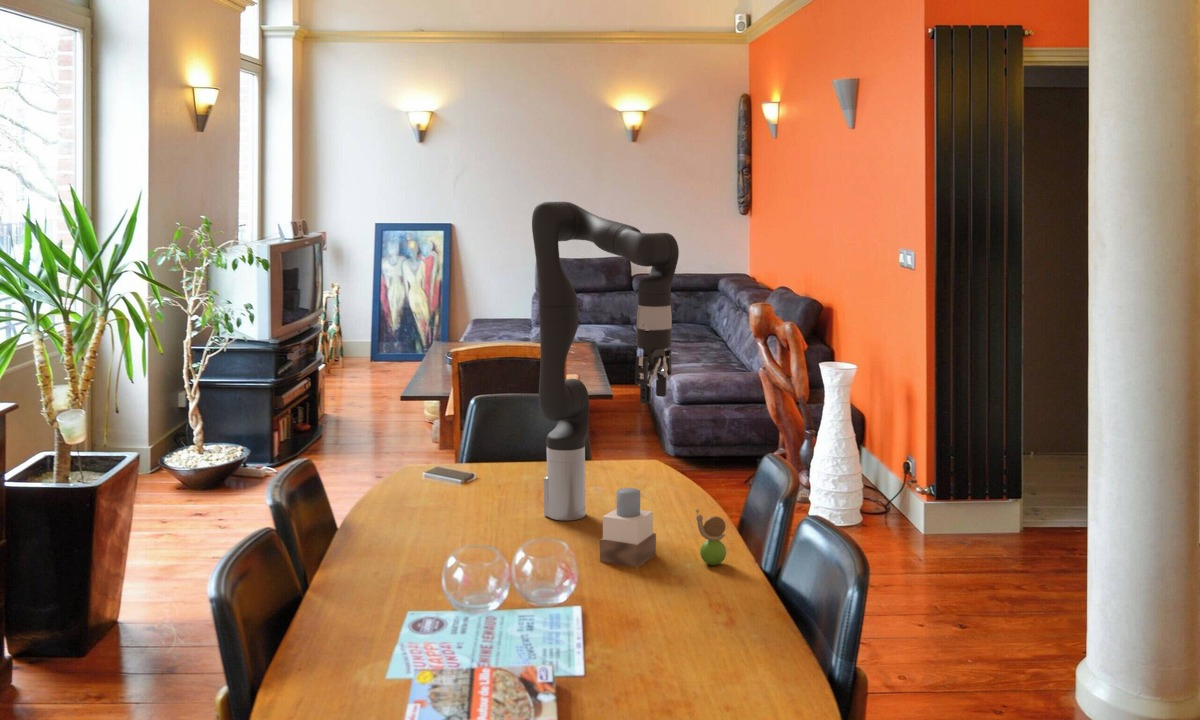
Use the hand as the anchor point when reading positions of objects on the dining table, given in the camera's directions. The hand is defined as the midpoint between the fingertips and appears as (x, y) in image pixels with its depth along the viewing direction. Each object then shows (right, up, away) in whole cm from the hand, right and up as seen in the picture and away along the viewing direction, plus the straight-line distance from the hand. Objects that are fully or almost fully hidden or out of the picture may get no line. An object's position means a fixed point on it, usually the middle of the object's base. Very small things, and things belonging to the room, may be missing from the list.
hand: (653, 399), depth 233 cm
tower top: (-6, -29, -5) cm, 30 cm away
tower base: (-6, -34, -5) cm, 35 cm away
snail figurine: (+12, -34, -9) cm, 37 cm away
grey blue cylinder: (-6, -24, -6) cm, 26 cm away
